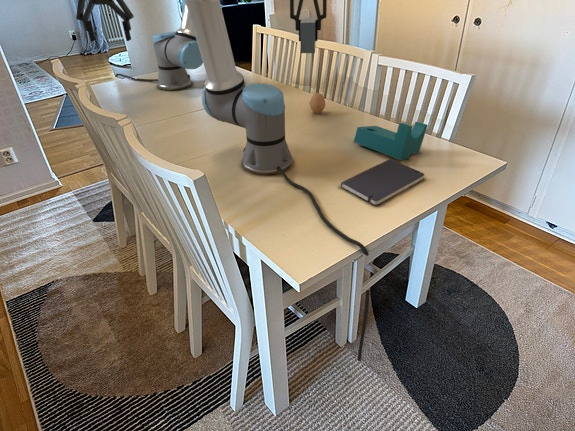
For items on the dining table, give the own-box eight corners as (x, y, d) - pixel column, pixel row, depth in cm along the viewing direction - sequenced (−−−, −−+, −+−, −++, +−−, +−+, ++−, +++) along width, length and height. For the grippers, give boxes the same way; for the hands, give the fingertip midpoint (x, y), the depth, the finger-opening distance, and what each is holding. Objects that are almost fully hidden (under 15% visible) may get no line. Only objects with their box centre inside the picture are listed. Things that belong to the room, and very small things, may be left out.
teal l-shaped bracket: (417, 156, 130) (427, 124, 125) (399, 160, 122) (409, 126, 118) (372, 139, 141) (380, 110, 136) (353, 141, 133) (361, 110, 129)
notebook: (389, 163, 124) (340, 187, 113) (390, 158, 123) (341, 182, 112) (424, 178, 116) (375, 206, 105) (425, 174, 115) (376, 201, 104)
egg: (314, 117, 155) (314, 96, 150) (307, 111, 159) (307, 91, 155) (327, 114, 157) (328, 94, 152) (320, 109, 161) (320, 89, 157)
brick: (302, 47, 149) (301, 17, 143) (315, 47, 148) (316, 17, 143) (300, 53, 142) (300, 22, 136) (314, 53, 141) (315, 22, 136)
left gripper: (52, -25, 135) (73, 43, 147) (124, -26, 133) (140, 42, 145) (64, -27, 141) (83, 38, 153) (133, -29, 139) (147, 37, 151)
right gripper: (279, -35, 127) (281, 43, 141) (336, -37, 126) (333, 42, 139) (281, -37, 133) (283, 38, 147) (336, -39, 132) (333, 37, 145)
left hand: (111, 40), depth 149 cm, fingers open, 13 cm apart
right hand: (308, 40), depth 143 cm, fingers closed on brick, 5 cm apart
